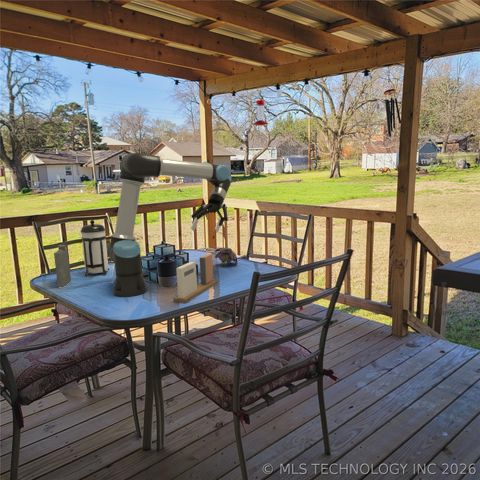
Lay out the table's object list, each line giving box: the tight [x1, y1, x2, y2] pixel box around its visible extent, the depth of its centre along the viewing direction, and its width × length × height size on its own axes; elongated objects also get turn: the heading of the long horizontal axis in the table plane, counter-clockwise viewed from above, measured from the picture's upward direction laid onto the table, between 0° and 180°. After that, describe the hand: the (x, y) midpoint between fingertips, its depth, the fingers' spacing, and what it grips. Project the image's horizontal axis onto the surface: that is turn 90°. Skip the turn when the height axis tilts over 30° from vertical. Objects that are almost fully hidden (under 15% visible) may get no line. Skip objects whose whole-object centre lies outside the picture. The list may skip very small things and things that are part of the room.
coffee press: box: [80, 219, 110, 277], centre depth 214 cm, size 17×16×30 cm
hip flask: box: [53, 244, 72, 288], centre depth 198 cm, size 16×4×20 cm, turn 11°
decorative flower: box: [214, 247, 238, 268], centre depth 226 cm, size 15×12×15 cm
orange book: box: [199, 253, 214, 284], centre depth 187 cm, size 8×3×13 cm, turn 157°
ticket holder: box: [173, 261, 219, 304], centre depth 177 cm, size 30×6×15 cm, turn 157°
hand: (204, 230), depth 196 cm, fingers open, 13 cm apart
